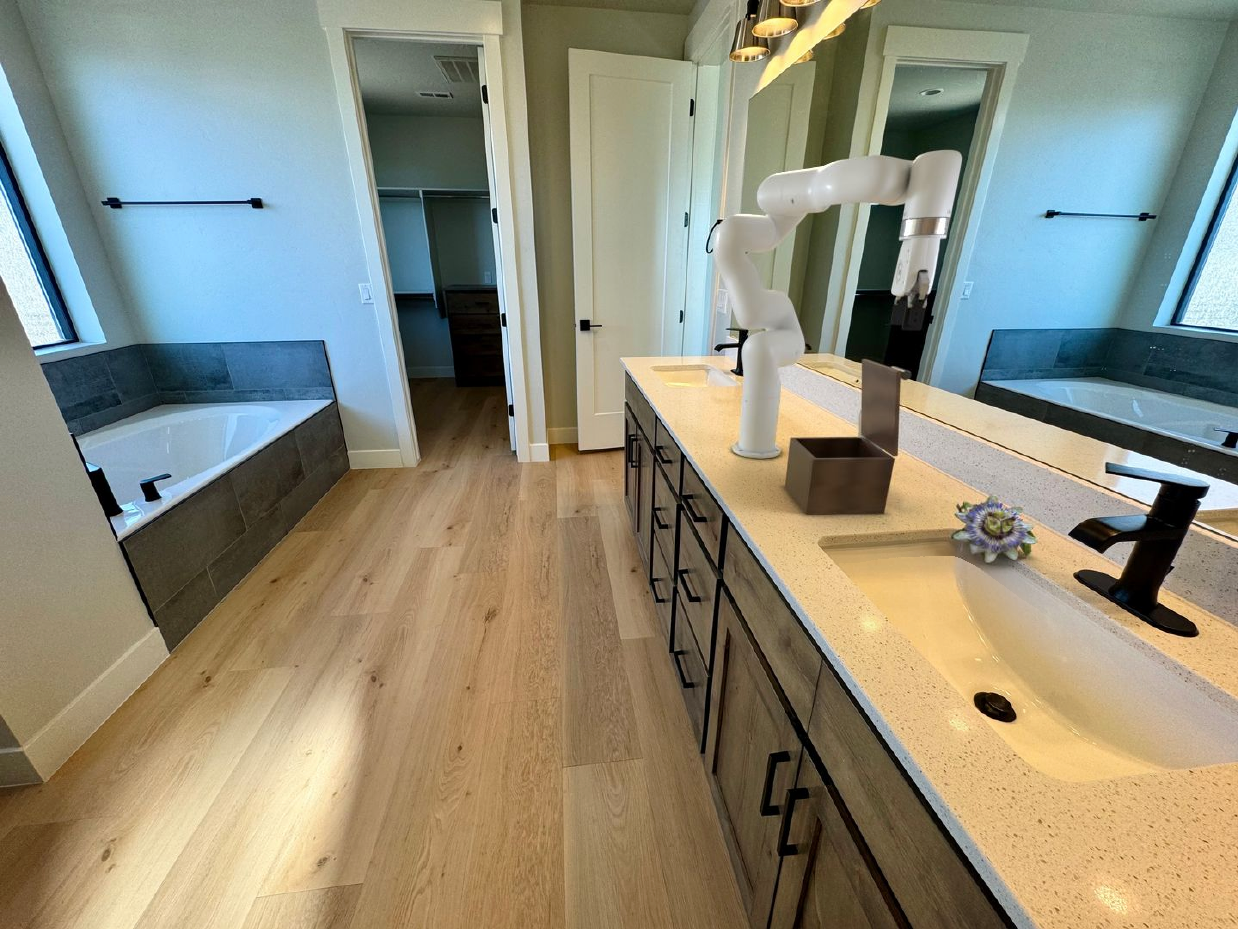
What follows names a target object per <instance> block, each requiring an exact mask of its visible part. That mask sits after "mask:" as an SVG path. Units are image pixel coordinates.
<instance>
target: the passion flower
mask: <svg viewBox="0 0 1238 929" xmlns="http://www.w3.org/2000/svg"><path fill="white" fill-rule="evenodd" d="M1003 506H1004V502H1000V501H999V497H998V496H997V495H996V494H994V493H991V495H989V496H988V497H987V498H986V500H985V501H984V502H980V503H979V504H977V503H975V504H972V503H970V502H968V501H963V502H962V505H960V503H958V502H957V504H956V505H955V507H956V509H957V511H958V512H957V513H954V516H955V518H957V519H958V520H959V521H960V522H961V523H963V524H965V525H964V526H963V527H962V528H961V529H957V530H956V531H953V532H952V533H951V534H950V538H951V539H952V540H956V541H964V540H967V541H968V552H969V554H970V556H974V555H975V556H976V555H977V554H978V555H980V556H982V558H983V561H984V563H985V564H991V563H993V562H994V561H995V560H996V559H997V557H998V555H999V554H1004V555H1005V556H1006V557H1007V558H1008V559H1010V560H1012V561H1016V560H1017V559H1018V557H1019V551H1018V550H1019V549H1018V548H1020V549H1021V551H1022V553H1023V555H1024V557H1025V558H1026V557H1028V556H1029V555H1030V554H1031V553H1032V545H1035V544H1037V543H1038V539H1037V538H1036V536H1035V534H1034V533H1033V532H1032V530H1033V529H1034V528H1035V525H1034V524H1033V523H1031V522H1028V521H1023V520H1024V519H1023V518H1021V517H1022V515H1021V514H1022V513H1023V511H1024V507H1023V506H1021V505H1019V506H1013V507H1012V506H1011V507H1009V508H1008V507H1003ZM968 508H969V509H968ZM963 510H964V511H963ZM1019 516H1020V517H1019Z"/></svg>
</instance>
